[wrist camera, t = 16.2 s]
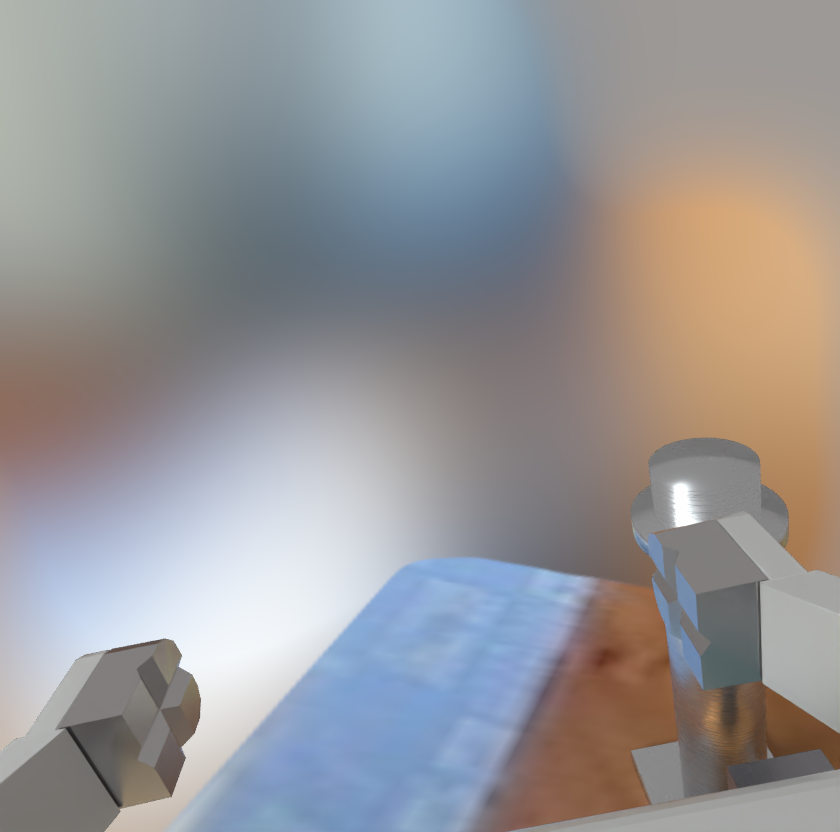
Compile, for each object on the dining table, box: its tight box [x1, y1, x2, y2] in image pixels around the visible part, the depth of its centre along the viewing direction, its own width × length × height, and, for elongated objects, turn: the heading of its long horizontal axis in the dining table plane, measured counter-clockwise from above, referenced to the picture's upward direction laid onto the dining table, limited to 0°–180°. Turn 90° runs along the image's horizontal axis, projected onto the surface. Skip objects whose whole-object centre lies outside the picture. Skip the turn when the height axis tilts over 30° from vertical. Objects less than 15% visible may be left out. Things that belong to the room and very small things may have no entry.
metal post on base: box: [631, 438, 789, 805], centre depth 27 cm, size 16×10×24 cm, turn 2°
